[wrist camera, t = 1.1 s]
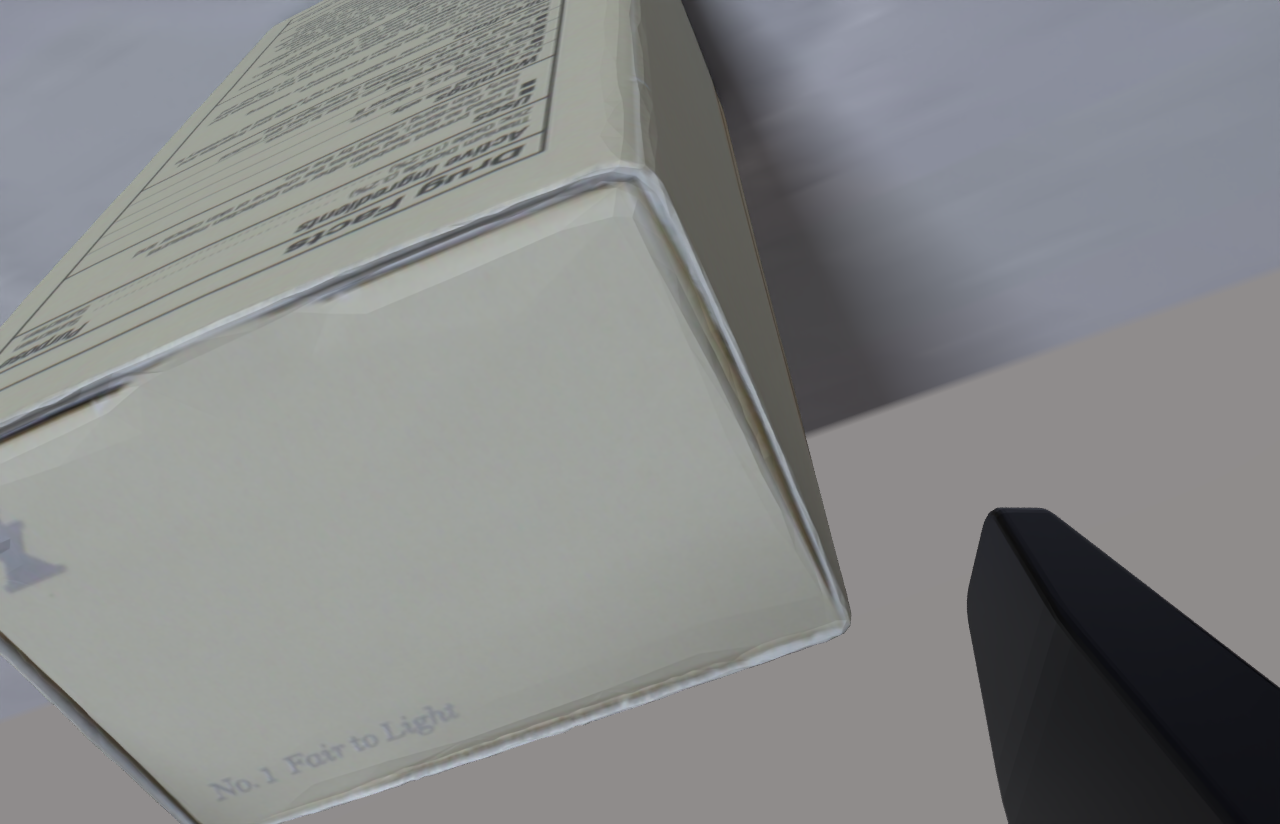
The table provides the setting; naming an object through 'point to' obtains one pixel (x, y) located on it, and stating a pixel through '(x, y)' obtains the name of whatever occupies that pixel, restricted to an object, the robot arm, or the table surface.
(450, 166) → the skincare box
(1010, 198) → the table surface
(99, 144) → the table surface
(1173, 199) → the table surface
